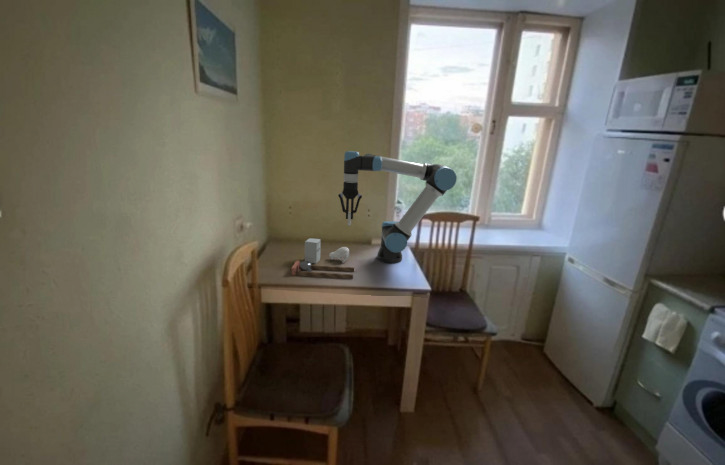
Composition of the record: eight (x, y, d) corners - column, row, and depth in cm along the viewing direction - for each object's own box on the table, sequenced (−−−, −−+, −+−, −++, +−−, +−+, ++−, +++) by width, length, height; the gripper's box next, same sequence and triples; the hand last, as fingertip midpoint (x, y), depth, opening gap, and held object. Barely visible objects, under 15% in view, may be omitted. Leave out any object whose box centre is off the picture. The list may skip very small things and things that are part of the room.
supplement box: (316, 263, 193) (316, 242, 189) (304, 262, 194) (304, 241, 191) (320, 259, 200) (320, 239, 196) (308, 257, 201) (308, 237, 197)
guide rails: (354, 270, 186) (354, 267, 185) (352, 278, 176) (352, 275, 175) (299, 267, 187) (299, 264, 186) (295, 275, 177) (295, 271, 176)
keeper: (312, 270, 184) (312, 261, 183) (309, 274, 179) (309, 265, 177) (301, 269, 185) (301, 260, 184) (298, 273, 179) (298, 264, 178)
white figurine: (347, 249, 193) (327, 248, 195) (348, 263, 195) (328, 262, 198) (349, 245, 199) (330, 245, 201) (350, 259, 201) (331, 258, 204)
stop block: (299, 267, 187) (299, 260, 186) (295, 275, 177) (295, 268, 176) (296, 267, 187) (296, 260, 186) (291, 275, 177) (291, 267, 176)
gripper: (363, 181, 181) (361, 223, 188) (339, 179, 181) (338, 222, 188) (362, 183, 174) (360, 227, 181) (337, 181, 174) (336, 226, 181)
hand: (349, 224), depth 184 cm, fingers closed
